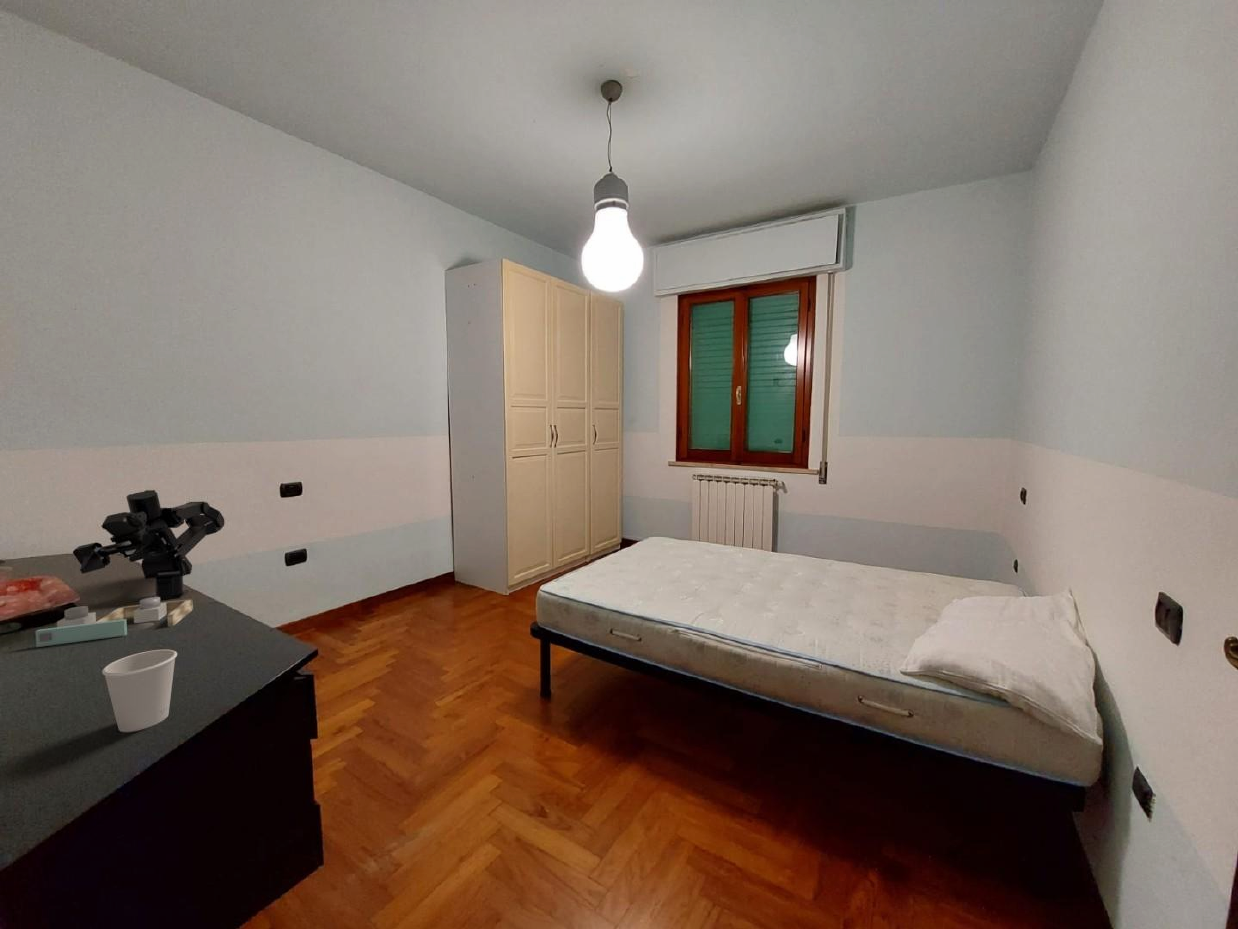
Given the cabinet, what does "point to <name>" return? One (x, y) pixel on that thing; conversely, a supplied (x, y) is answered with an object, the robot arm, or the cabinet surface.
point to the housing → (173, 607)
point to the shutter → (80, 632)
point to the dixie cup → (141, 688)
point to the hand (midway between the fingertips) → (106, 566)
